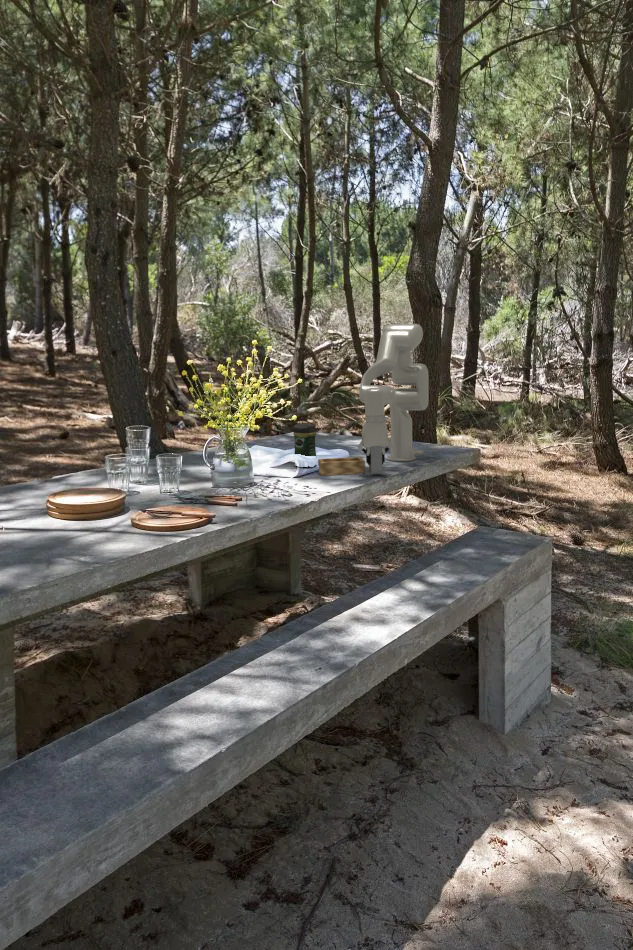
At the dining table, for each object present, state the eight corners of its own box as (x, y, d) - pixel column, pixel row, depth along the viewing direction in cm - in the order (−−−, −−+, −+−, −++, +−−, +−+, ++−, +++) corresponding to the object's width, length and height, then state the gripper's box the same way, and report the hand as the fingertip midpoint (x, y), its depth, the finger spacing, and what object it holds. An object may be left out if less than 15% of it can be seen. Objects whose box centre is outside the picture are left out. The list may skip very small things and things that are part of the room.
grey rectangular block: (379, 470, 330) (379, 444, 327) (382, 473, 325) (381, 446, 323) (369, 471, 329) (368, 444, 327) (371, 473, 325) (370, 446, 322)
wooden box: (360, 469, 341) (360, 457, 340) (365, 473, 331) (365, 461, 330) (318, 471, 338) (318, 458, 337) (321, 475, 329) (321, 462, 328)
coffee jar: (320, 466, 350) (319, 423, 346) (307, 469, 344) (306, 425, 340) (303, 464, 356) (302, 421, 352) (291, 466, 350) (289, 424, 347)
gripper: (393, 417, 327) (394, 461, 331) (352, 419, 325) (353, 463, 329) (397, 419, 320) (398, 465, 324) (355, 421, 318) (356, 467, 322)
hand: (375, 463), depth 326 cm, fingers closed on grey rectangular block, 4 cm apart
